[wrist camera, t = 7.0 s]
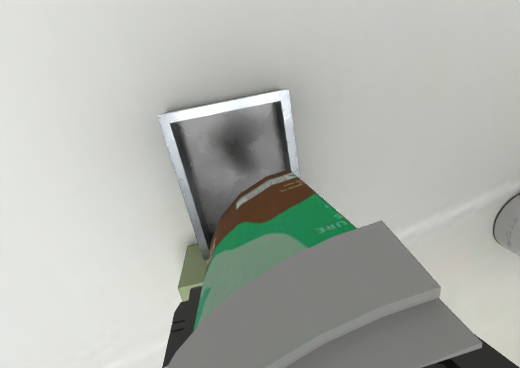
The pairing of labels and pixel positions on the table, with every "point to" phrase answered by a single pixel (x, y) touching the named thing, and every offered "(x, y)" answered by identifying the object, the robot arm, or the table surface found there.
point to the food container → (314, 291)
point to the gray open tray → (228, 152)
